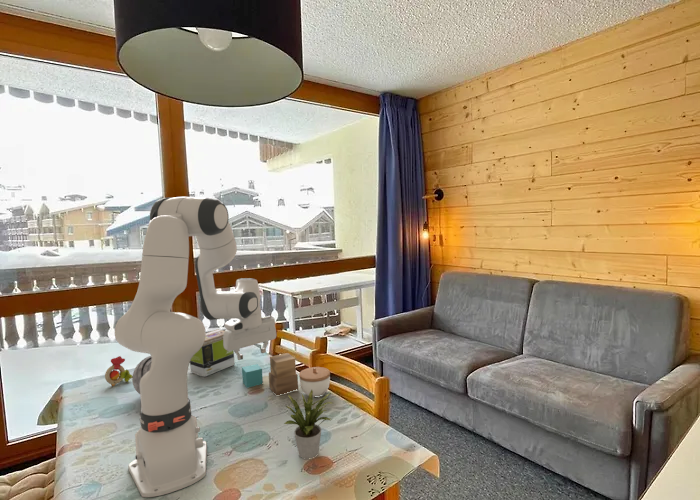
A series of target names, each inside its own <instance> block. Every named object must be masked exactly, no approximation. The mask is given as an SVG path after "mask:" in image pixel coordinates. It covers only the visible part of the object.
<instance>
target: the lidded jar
mask: <svg viewBox="0 0 700 500" xmlns="http://www.w3.org/2000/svg"><path fill="white" fill-rule="evenodd" d="M298 378H299V383H300V388H301V391H302V392H303V393H304V394H305V395H306V396H307V395H308V396H309V394H310V392H311V389H312V391H313V397H315V396H320V395H323V394H324V395H325V393H326V392H327V391H328V389H329V387H330V384H331V383H330V381H331V370H329V369H328V368H326V367H323V366H322V367H321V366H313V367H307V368H305V369H302V370H301V371H300V372H299V376H298ZM324 395H323V396H324ZM308 396H307V397H308Z"/></svg>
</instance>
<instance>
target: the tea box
mask: <svg viewBox="0 0 700 500" xmlns="http://www.w3.org/2000/svg"><path fill="white" fill-rule="evenodd" d="M224 332H225V330H222V329H214V330H212V331H208V332H206V336H205V341H204V343H203V345H202V347H201V348H200V350H199V351H198V352H197V353H196V354H194V355H193V357H192V358H191V361H190V363H189V367H190V372H191V373H192V374H195V375H197V376H200V377H204V378H205V377H208V376H210V375H212V374H215V373H217V372H219V371H222V370H225V369H228V368H231V367H233V366H234V365H236V364H235V363H236V362H235V352H234V350H233V351H227V350H226V349H225V348H224V346H223V336H224Z"/></svg>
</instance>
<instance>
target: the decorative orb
mask: <svg viewBox="0 0 700 500" xmlns="http://www.w3.org/2000/svg"><path fill="white" fill-rule="evenodd" d="M151 363H152V357H151V355H148V356H146V357H145V358H143V359H142V360H141V361H140V362H139V363H138V364H137V365H136V366H135V368H134V370H133V373H132V376H133V377H132V378H131V380H132V386H133V388H134V390H135V392H137V393H138V394H139V395H140V380H141V378H142V377H143V375H144V374H146V373H147V372H148V371H149V370H150V368H151Z"/></svg>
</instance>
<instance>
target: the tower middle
mask: <svg viewBox="0 0 700 500" xmlns="http://www.w3.org/2000/svg"><path fill="white" fill-rule="evenodd" d="M269 363H270V364H269V366H270V368H269V369H270V372H271V374H272V375H273V376H274V377H275V378H276V379H281V378H285V377H289V376H293V375H296V374H297V368H296V367H297V365H296V358H295V357H294V356H292V355H291V354H290V353H289V352H286V353H282V354H276V355H273V356H269Z"/></svg>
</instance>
